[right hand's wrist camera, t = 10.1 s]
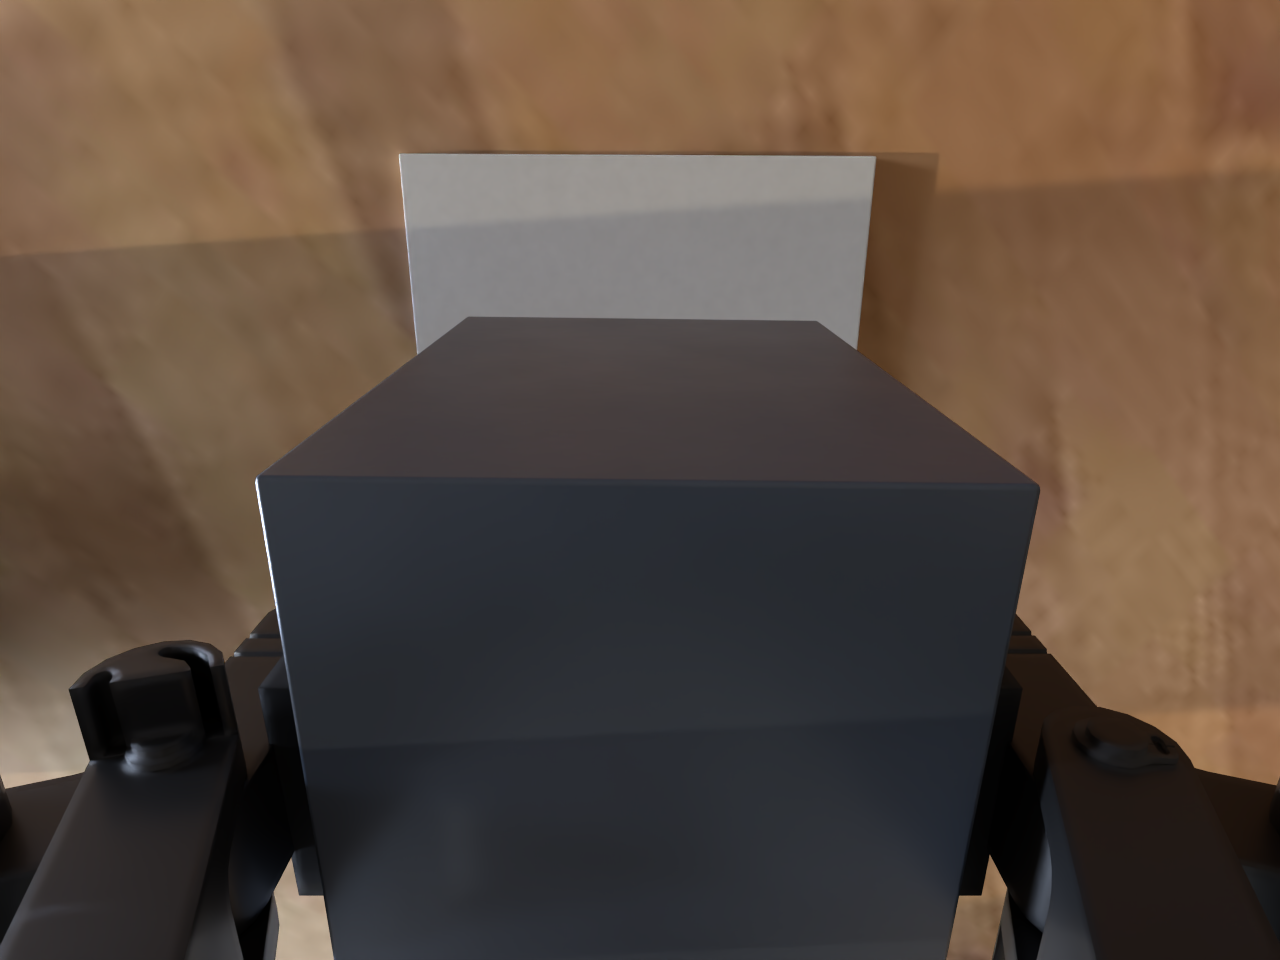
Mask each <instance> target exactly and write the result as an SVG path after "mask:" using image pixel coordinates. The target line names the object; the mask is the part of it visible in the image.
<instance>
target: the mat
mask: <svg viewBox="0 0 1280 960" xmlns="http://www.w3.org/2000/svg"><path fill="white" fill-rule="evenodd" d="M399 162H400V172H401V183H402V194H403V205H404V215H405V226H406V237H407V248H408V259H409V269H410V280H411V291H412V302H413V312H414V323H415V334H416V345H417V355H418V354H419V353H420V352H422V351H423V350H424V349H426V348H427V347H428V346H430V345H431V344H432V343H433V342H435V341H436V340H437V339H439V338H440V337H441V336H443V335H444V334H445V333H447V332H448V331H449V330H451V329H452V328H453V327H455V326H456V325H457V324H459V323H460V322H461V321H463V320H464V319H465V318H467V317H469V316H470V317H551V318H632V319H713V320H795V321H818V322H819V323H821V324H822V325H823V326H825V327H826V328H827V329H829V330H830V331H832V332H833V333H834V334H836V335H837V336H838V337H840V338H841V339H842V340H844V341H845V342H846V343H848V344H849V345H850V346H852V347H853V348H854V349H856V350H857V346H858V336H859V326H860V316H861V306H862V296H863V286H864V276H865V266H866V256H867V246H868V237H869V227H870V217H871V207H872V197H873V187H874V177H875V167H876V156H758V155H578V154H399Z"/></svg>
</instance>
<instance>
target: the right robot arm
mask: <svg viewBox="0 0 1280 960" xmlns="http://www.w3.org/2000/svg"><path fill="white" fill-rule="evenodd" d="M234 653H235V654H234V657H230V658H229V659H228V660H227V661H226V662H225V663H224V659H223V654H222V652H221V651H219V650H218V649H217V648H215V647H214V646H213V645H211V644H209V643H203V642H198V641H192V640H183V641H165V642H160V643H155V644H151V645H147V646H142V647H138V648H134V649H132V650H129V651H126V652H124V653H121V654H119V655H116V656H114V657H111V658H109V659H106V660H105V661H103V662H102V663H100V664H98V665H97V666H95V667H93V668H92V669H90V670H88V671H87V672H85V673H84V674H83V675H82V676H81V677H80V678H79V679H78V680H77V681H76V682H75V683H74V684H73V685H72V686H71V687H70V688H69V692H70V696H71V699H72V702H73V706H74V709H75V712H76V716H77V719H78V722H79V726H80V729H81V732H82V736H83V739H84V743H85V746H86V749H87V753H88V756H89V759H90V762H89V764H88V766H87V768H86V770H85V772H83V773H79V774H75V775H71V776H66V777H61V778H56V779H51V780H47V781H42V782H37V783H32V784H27V785H22V786H17V787H12V788H7V789H5V787H4V785H3V782H2V779H1V776H0V960H275V956H276V948H277V940H278V932H279V919H278V912H277V906H276V901H275V897H274V892H273V891H274V890H275V888H276V886H277V884H278V882H279V880H280V878H281V876H282V874H283V872H284V870H285V868H286V866H287V864H288V862H289V861H290V859H291V857H292V862H293V867H294V872H295V877H296V882H297V887H298V892H299V895H323V889H322V883H321V877H320V871H319V865H318V859H317V853H316V847H315V841H314V835H313V829H312V823H311V817H310V811H309V804H308V798H307V792H306V786H305V780H304V774H303V768H302V762H301V756H300V750H299V744H298V738H297V732H296V726H295V720H294V714H293V708H292V702H291V696H290V690H289V684H288V678H287V672H286V666H285V659H284V653H283V647H282V641H281V635H280V629H279V623H278V617H277V611H276V608H275V609H274V610H272V611H270V612H269V613H268V614H267V615H266V616H265V617H264V618H263V620H262V621H261V622H260V623H259V624H258V625H257V626H256V628H255V629H254V630H253V631H252V632H251V633H250V638H246V639H245V640H244V642H243V643H242V644H241V645H240V646H239V647H238V648H237V650H236V651H235V652H234ZM989 855H990V856H991V857H992V859H993V861H994V863H995V865H996V867H997V869H998V871H999V873H1000V875H1001V877H1002V879H1003V880H1004V882H1005V884H1006V886H1007V892H1006V897H1005V901H1004V906H1003V911H1002V915H1001V920H1000V925H999V929H998V934H997V939H996V943H995V948H994V953H993V957H992V960H1280V778H1279V781H1278V784H1277V786H1276V785H1271V784H1266V783H1261V782H1256V781H1251V780H1246V779H1242V778H1237V777H1232V776H1227V775H1222V774H1217V773H1212V772H1207V771H1204V770H1200V769H1196V768H1194V766H1193V764H1192V762H1191V760H1190V759H1189V757H1188V756H1187V755H1186V754H1185V752H1184V751H1183V750H1182V749H1181V747H1180V746H1179V745H1178V744H1177V742H1175V741H1174V740H1173V739H1171V738H1170V737H1168V736H1167V735H1166V734H1164V733H1163V732H1161V731H1160V730H1159V729H1157V728H1156V727H1154V726H1152V725H1150V724H1148V723H1146V722H1143V721H1141V720H1139V719H1137V718H1135V717H1132V716H1130V715H1128V714H1124V713H1120V712H1117V711H1113V710H1109V709H1105V708H1101V707H1097V706H1096V705H1095V704H1094V703H1093V702H1092V701H1091V699H1090V698H1089V697H1088V696H1087V695H1086V694H1085V692H1084V691H1083V690H1082V689H1081V688H1080V687H1079V686H1078V684H1077V683H1076V682H1075V681H1074V680H1073V679H1072V678H1071V676H1070V675H1069V674H1068V673H1067V672H1066V671H1065V670H1064V668H1063V667H1062V666H1061V665H1060V664H1059V663H1058V662H1057V660H1056V659H1055V658H1054V657H1053V656H1052V655H1051V654H1047V649H1046V648H1045V647H1044V646H1043V644H1042V643H1041V642H1040V641H1039V640H1038V639H1037V637H1036V636H1032V635H1031V631H1030V629H1029V628H1028V627H1027V626H1026V625H1025V624H1024V623H1023V621H1022V620H1021V619H1020V618H1019V617H1018V616H1017V615H1016V614H1015V619H1014V624H1013V629H1012V634H1011V639H1010V644H1009V649H1008V654H1007V659H1006V664H1005V669H1004V674H1003V679H1002V684H1001V689H1000V694H999V698H998V703H997V708H996V713H995V718H994V723H993V728H992V733H991V738H990V743H989V748H988V753H987V758H986V763H985V768H984V773H983V778H982V783H981V788H980V793H979V798H978V803H977V808H976V813H975V818H974V823H973V828H972V833H971V838H970V843H969V848H968V853H967V858H966V863H965V868H964V873H963V878H962V883H961V888H960V893H959V896H981V895H982V890H983V885H984V880H985V875H986V870H987V865H988V860H989Z"/></svg>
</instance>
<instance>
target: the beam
mask: <svg viewBox="0 0 1280 960" xmlns="http://www.w3.org/2000/svg"><path fill="white" fill-rule="evenodd" d="M255 484H256V490H257V496H258V502H259V508H260V514H261V521H262V527H263V533H264V539H265V545H266V551H267V557H268V563H269V569H270V575H271V581H272V587H273V593H274V599H275V605H276V611H277V617H278V623H279V629H280V635H281V641H282V647H283V653H284V659H285V666H286V672H287V678H288V684H289V690H290V696H291V702H292V708H293V714H294V720H295V726H296V732H297V738H298V744H299V750H300V756H301V762H302V768H303V774H304V780H305V786H306V792H307V798H308V804H309V811H310V817H311V823H312V829H313V835H314V841H315V847H316V853H317V859H318V865H319V871H320V877H321V883H322V889H323V895H324V901H325V907H326V913H327V919H328V925H329V931H330V937H331V943H332V949H333V956H334V960H946V958H947V953H948V948H949V943H950V938H951V933H952V928H953V923H954V918H955V913H956V908H957V903H958V898H959V893H960V888H961V883H962V878H963V873H964V868H965V863H966V858H967V853H968V848H969V843H970V838H971V833H972V828H973V823H974V818H975V813H976V808H977V803H978V798H979V793H980V788H981V783H982V778H983V773H984V768H985V763H986V758H987V753H988V748H989V743H990V738H991V733H992V728H993V723H994V718H995V713H996V708H997V703H998V698H999V694H1000V689H1001V684H1002V679H1003V674H1004V669H1005V664H1006V659H1007V654H1008V649H1009V644H1010V639H1011V634H1012V629H1013V624H1014V619H1015V614H1016V609H1017V604H1018V599H1019V594H1020V589H1021V584H1022V579H1023V574H1024V569H1025V564H1026V559H1027V554H1028V549H1029V544H1030V539H1031V534H1032V529H1033V524H1034V519H1035V514H1036V509H1037V504H1038V499H1039V494H1040V487H1039V485H1038V484H1037V483H1036V482H1034V481H1033V480H1032V479H1030V478H1029V477H1027V476H1026V475H1025V474H1023V473H1022V472H1021V471H1019V470H1018V469H1017V468H1015V467H1014V466H1013V465H1011V464H1010V463H1009V462H1007V461H1006V460H1005V459H1003V458H1002V457H1000V456H999V455H998V454H996V453H995V452H994V451H992V450H991V449H990V448H988V447H987V446H986V445H984V444H983V443H982V442H980V441H979V440H977V439H976V438H975V437H973V436H972V435H971V434H969V433H968V432H967V431H965V430H964V429H963V428H961V427H960V426H959V425H957V424H956V423H955V422H953V421H952V420H950V419H949V418H948V417H946V416H945V415H944V414H942V413H941V412H940V411H938V410H937V409H936V408H934V407H933V406H932V405H930V404H929V403H927V402H926V401H925V400H923V399H922V398H921V397H919V396H918V395H917V394H915V393H914V392H913V391H911V390H910V389H909V388H907V387H906V386H904V385H903V384H902V383H900V382H899V381H898V380H896V379H895V378H894V377H892V376H891V375H890V374H888V373H887V372H886V371H884V370H883V369H882V368H880V367H879V366H877V365H876V364H875V363H873V362H872V361H871V360H869V359H868V358H867V357H865V356H864V355H863V354H861V353H860V352H859V351H857V350H856V349H854V348H853V347H852V346H850V345H849V344H848V343H846V342H845V341H844V340H842V339H841V338H840V337H838V336H837V335H836V334H834V333H833V332H832V331H830V330H829V329H827V328H826V327H825V326H823V325H822V324H821V323H819V322H818V321H795V320H713V319H632V318H551V317H470V316H469V317H467V318H465V319H464V320H463V321H461V322H460V323H459V324H457V325H456V326H455V327H453V328H452V329H451V330H449V331H448V332H447V333H445V334H444V335H443V336H441V337H440V338H439V339H437V340H436V341H435V342H433V343H432V344H431V345H430V346H428V347H427V348H426V349H424V350H423V351H422V352H420V353H419V354H418V355H416V356H415V357H414V358H412V359H411V360H410V361H408V362H407V363H406V364H404V365H403V366H402V367H400V368H399V369H398V370H396V371H395V372H394V373H392V374H391V375H390V376H389V377H387V378H386V379H385V380H383V381H382V382H381V383H379V384H378V385H377V386H375V387H374V388H373V389H371V390H370V391H369V392H367V393H366V394H365V395H363V396H362V397H361V398H359V399H358V400H357V401H355V402H354V403H353V404H352V405H350V406H349V407H348V408H346V409H345V410H344V411H342V412H341V413H340V414H338V415H337V416H336V417H334V418H333V419H332V420H330V421H329V422H328V423H326V424H325V425H324V426H322V427H321V428H320V429H318V430H317V431H316V432H314V433H313V434H312V435H311V436H309V437H308V438H307V439H305V440H304V441H303V442H301V443H300V444H299V445H297V446H296V447H295V448H293V449H292V450H291V451H289V452H288V453H287V454H285V455H284V456H283V457H281V458H280V459H279V460H277V461H276V462H275V463H274V464H272V465H271V466H270V467H268V468H267V469H266V470H264V471H263V472H262V473H260V474H259V475H258V476H257V477H256V480H255Z"/></svg>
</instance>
